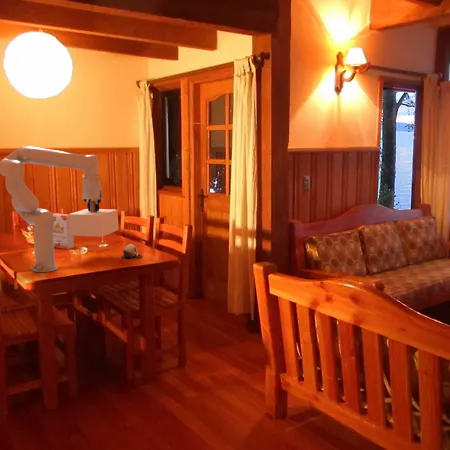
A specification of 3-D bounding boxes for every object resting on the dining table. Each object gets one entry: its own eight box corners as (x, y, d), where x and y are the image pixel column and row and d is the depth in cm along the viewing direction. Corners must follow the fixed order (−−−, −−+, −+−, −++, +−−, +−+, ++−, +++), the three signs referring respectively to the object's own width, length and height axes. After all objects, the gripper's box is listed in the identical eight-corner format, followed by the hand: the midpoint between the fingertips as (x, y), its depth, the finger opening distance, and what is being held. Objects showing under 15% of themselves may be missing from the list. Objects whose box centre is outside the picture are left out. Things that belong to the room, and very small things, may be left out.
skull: (129, 252, 308) (138, 240, 303) (139, 265, 305) (148, 254, 300) (114, 255, 298) (123, 243, 293) (124, 269, 295) (134, 257, 290)
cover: (102, 236, 279) (100, 203, 276) (70, 235, 284) (67, 203, 281) (118, 229, 297) (116, 199, 294) (88, 228, 302) (86, 198, 299)
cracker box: (50, 247, 325) (48, 214, 322) (57, 245, 331) (56, 212, 327) (67, 249, 319) (65, 215, 315) (74, 247, 324) (73, 214, 321)
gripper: (74, 178, 284) (76, 211, 287) (102, 178, 279) (104, 212, 283) (81, 176, 291) (83, 209, 294) (108, 177, 286) (110, 210, 290)
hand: (93, 210), depth 288 cm, fingers closed on cover, 3 cm apart
